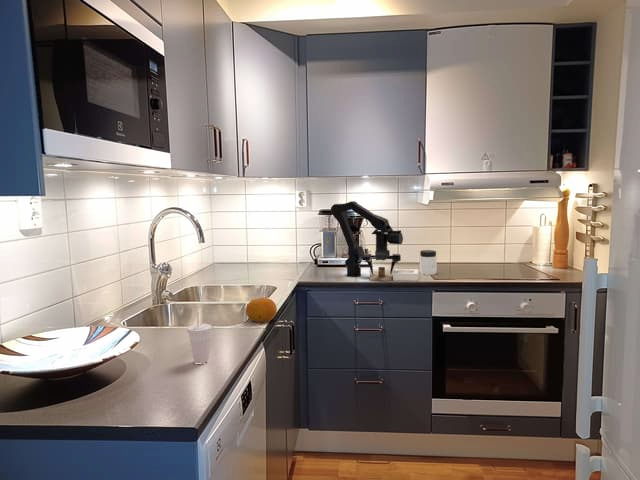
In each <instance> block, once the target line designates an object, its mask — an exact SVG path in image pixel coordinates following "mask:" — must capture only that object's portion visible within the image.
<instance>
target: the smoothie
mask: <svg viewBox="0 0 640 480" xmlns="http://www.w3.org/2000/svg"><path fill="white" fill-rule="evenodd" d="M212 327H213V326H212V325H211V324H208V323H200V315H199V311H196V323H195V324H192V325H190V326H188V327H187V331H186V332H187V334H188V338H189V342H190V347H191V353H192V359H193V364H194V363H205V362H207V361H208V362H209V356H210V355H209V354H210V342H211V334H212V333H211V331H212V330H213V328H212ZM208 362H207V363H208Z"/></svg>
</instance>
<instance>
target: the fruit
mask: <svg viewBox="0 0 640 480" xmlns="http://www.w3.org/2000/svg"><path fill="white" fill-rule="evenodd" d="M277 311H278V308H277V305H276V302H275V301H273V300H272V299H270V298H268V297H260V298H253V299H252V300H250V301H249V302H248V304H247V305H246V308H245V314H246V316H247V318H248V319H249V320H251V321H253V322H255V321H257V322H256V323H266V321H267V322H269V320H270V321H271V320H273V318H275V316H276V314H277Z"/></svg>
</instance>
